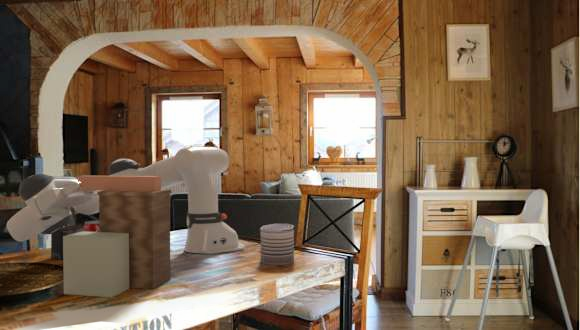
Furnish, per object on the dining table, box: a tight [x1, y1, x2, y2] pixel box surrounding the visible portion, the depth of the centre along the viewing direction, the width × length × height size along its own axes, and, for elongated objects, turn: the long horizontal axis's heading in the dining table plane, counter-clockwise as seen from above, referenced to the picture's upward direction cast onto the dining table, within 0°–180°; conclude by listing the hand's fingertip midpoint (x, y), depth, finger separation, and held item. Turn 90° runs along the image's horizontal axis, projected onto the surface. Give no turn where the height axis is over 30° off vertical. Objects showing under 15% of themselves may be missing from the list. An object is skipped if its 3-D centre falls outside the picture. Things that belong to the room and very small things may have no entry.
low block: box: [62, 231, 130, 298], centre depth 126 cm, size 14×8×15 cm, turn 78°
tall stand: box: [97, 188, 172, 290], centre depth 135 cm, size 17×11×26 cm, turn 78°
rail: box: [77, 175, 161, 191], centre depth 135 cm, size 24×4×4 cm, turn 77°
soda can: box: [83, 220, 100, 232], centre depth 165 cm, size 7×7×13 cm
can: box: [259, 223, 295, 266], centre depth 162 cm, size 11×11×12 cm
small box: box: [50, 224, 84, 261], centre depth 170 cm, size 11×6×10 cm, turn 148°
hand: (90, 183), depth 137 cm, fingers open, 8 cm apart
